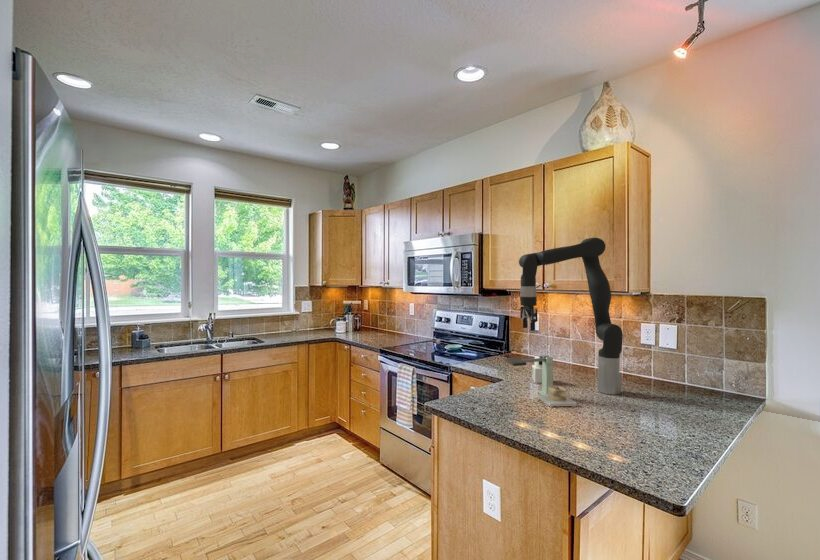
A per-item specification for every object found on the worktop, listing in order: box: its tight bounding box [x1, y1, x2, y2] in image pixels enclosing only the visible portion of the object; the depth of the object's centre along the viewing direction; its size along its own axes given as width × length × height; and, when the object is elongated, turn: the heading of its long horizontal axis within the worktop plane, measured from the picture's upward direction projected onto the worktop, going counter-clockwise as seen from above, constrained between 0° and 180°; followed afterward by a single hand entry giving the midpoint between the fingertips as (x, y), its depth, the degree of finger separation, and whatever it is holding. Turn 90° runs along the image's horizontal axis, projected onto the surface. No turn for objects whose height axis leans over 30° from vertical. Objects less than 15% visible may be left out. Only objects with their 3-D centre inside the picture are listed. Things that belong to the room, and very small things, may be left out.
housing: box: [548, 386, 567, 401], centre depth 172 cm, size 6×5×5 cm
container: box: [531, 355, 544, 384], centre depth 205 cm, size 8×8×13 cm
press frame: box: [537, 355, 578, 407], centre depth 175 cm, size 12×18×18 cm, turn 6°
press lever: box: [505, 355, 551, 367], centre depth 180 cm, size 20×10×2 cm, turn 96°
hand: (528, 329), depth 187 cm, fingers open, 8 cm apart
